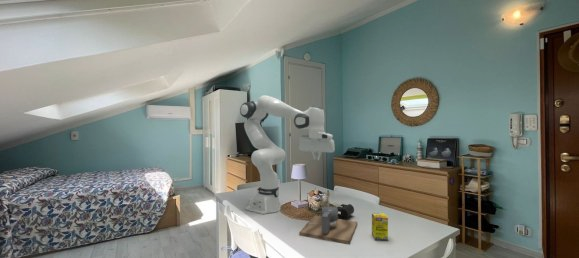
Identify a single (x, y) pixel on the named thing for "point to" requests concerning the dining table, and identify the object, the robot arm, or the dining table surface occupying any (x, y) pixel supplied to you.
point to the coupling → (328, 217)
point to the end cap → (345, 211)
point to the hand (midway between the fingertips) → (316, 159)
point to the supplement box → (380, 226)
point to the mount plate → (330, 230)
